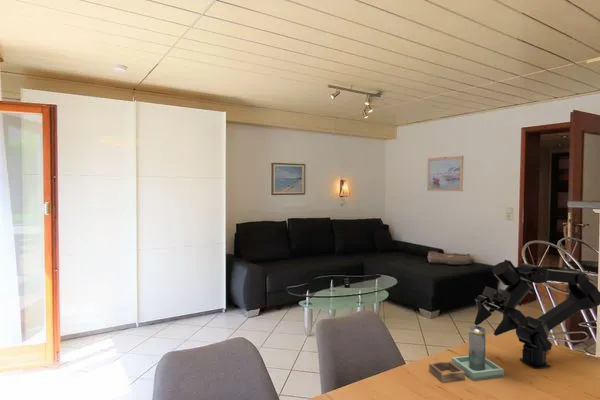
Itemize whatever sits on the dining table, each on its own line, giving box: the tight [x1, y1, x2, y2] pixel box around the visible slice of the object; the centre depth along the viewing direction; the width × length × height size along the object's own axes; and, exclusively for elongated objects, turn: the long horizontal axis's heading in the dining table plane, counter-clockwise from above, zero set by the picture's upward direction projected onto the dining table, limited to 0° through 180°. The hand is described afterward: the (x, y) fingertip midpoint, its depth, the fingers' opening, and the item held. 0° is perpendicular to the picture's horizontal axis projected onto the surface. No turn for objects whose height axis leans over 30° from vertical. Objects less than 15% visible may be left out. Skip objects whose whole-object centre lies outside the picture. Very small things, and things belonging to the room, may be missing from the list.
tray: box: [451, 355, 505, 382], centre depth 120 cm, size 11×11×2 cm
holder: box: [428, 360, 466, 384], centre depth 118 cm, size 8×8×2 cm
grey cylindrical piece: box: [467, 325, 487, 371], centre depth 120 cm, size 5×5×13 cm
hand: (484, 329), depth 121 cm, fingers open, 9 cm apart
